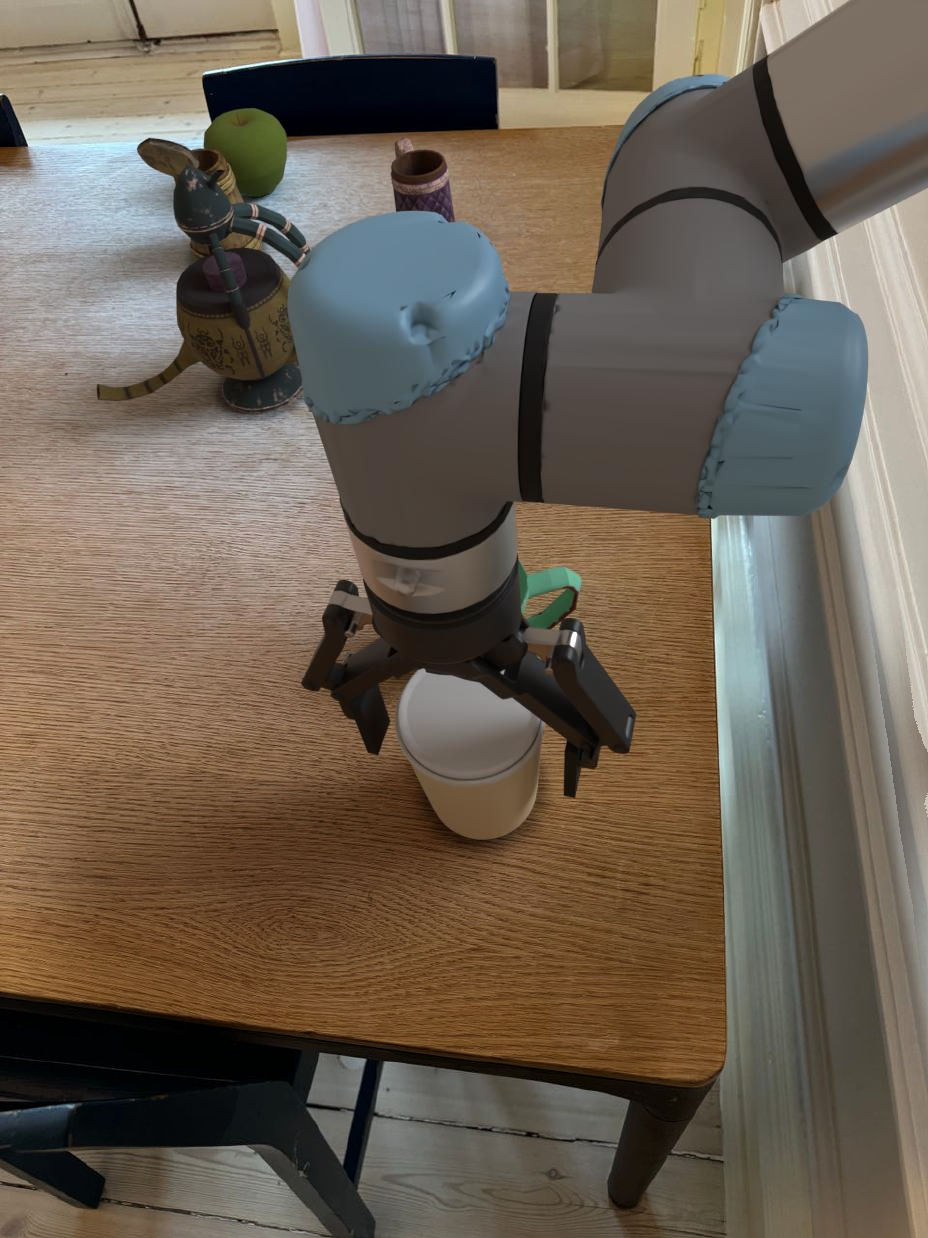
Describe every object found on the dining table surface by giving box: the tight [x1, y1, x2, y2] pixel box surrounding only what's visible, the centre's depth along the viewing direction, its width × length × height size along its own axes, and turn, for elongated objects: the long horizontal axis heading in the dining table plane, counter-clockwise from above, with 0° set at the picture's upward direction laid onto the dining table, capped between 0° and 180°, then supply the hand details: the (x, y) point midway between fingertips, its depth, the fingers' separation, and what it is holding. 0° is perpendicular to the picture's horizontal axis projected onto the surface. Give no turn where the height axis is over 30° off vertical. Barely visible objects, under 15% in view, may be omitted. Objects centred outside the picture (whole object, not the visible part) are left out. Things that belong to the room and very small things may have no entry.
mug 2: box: [519, 560, 582, 630], centre depth 65 cm, size 12×8×8 cm, turn 99°
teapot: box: [96, 165, 311, 414], centre depth 81 cm, size 12×25×23 cm, turn 111°
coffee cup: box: [394, 669, 546, 841], centre depth 57 cm, size 9×9×12 cm
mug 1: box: [390, 137, 457, 223], centre depth 97 cm, size 10×7×12 cm
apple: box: [202, 107, 288, 198], centre depth 111 cm, size 11×10×10 cm
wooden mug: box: [136, 137, 263, 263], centre depth 98 cm, size 9×14×18 cm, turn 173°
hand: (473, 757), depth 58 cm, fingers open, 13 cm apart
